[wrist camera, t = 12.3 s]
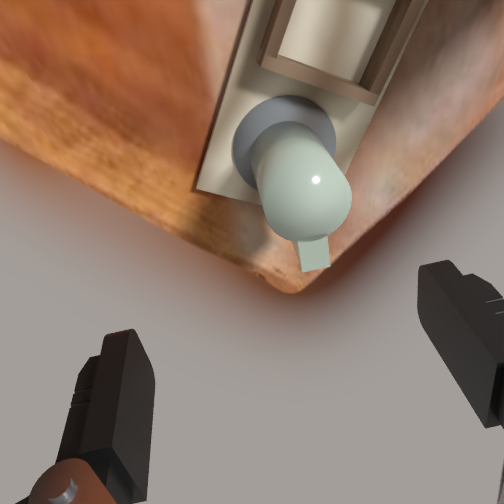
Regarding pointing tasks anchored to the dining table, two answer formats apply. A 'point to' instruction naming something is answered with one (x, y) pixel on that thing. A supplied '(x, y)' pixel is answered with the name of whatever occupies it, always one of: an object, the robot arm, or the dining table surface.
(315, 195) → the sage jug
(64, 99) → the dining table surface
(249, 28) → the jug stand
